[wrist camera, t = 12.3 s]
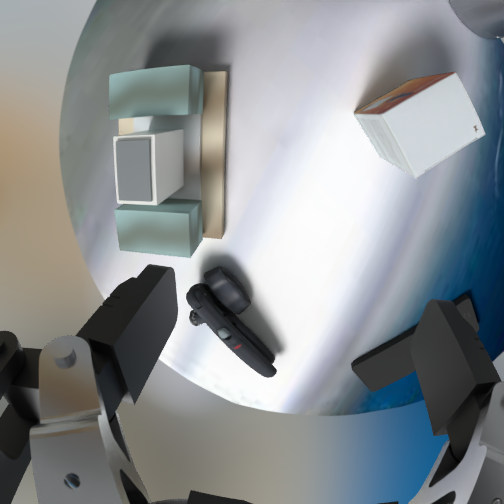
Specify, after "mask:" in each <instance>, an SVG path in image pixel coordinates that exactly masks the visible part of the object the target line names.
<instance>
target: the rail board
mask: <svg viewBox="0 0 504 504" xmlns="http://www.w3.org/2000/svg"><path fill="white" fill-rule="evenodd" d="M227 84H228V73H227V72H226V71H216V72H204V71H203V70H201V69H199V68H196V67H194V66H192V65H179V66H168V67H159V68H150V69H143V70H136V71H129V72H123V73H117V74H112V75H110V84H109V120H114V119H119V135H124V134H129V133H135V132H140V131H145V130H161V129H184V186H183V187H181V188H180V189H178V190H177V191H176V192H174V193H173V194H172V195H170V196H169V197H168V198H166V199H165V200H164V201H162V202H161V203H160V204H158V205H138V204H123V205H121V206H120V207H118V208H117V209H115V217H116V226H117V233H118V241H119V248H120V250H121V251H131V252H140V253H149V254H158V255H168V256H177V257H187V258H191V256H192V255H193V253H194V252H195V250H196V249H197V247H198V246H199V244H200V243H201V241H202V240H203V237H205V238H217V239H222V237H223V235H224V179H225V139H226V109H227Z"/></svg>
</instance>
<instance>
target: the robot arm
mask: <svg viewBox="0 0 504 504" xmlns="http://www.w3.org/2000/svg"><path fill="white" fill-rule="evenodd" d="M449 2H450V4H451V6H452V8H453V10H454V12H455V13H456V15H457V16H458V17H459V19H460V20H461V21H462V22H463V23H464V24H465V25H466V26H467V27H468V28H469V29H470V30H471V31H473V32H474V33H476V34H477V35H479V36H481V37H483V38H486V39H498V38H503V37H504V0H449ZM177 315H178V305H177V294H176V282H175V272H174V269H173V268H171V267H165V266H158V265H152V264H149V265H147V266H146V268H145V269H144V270H143V271H142V272H141V273H140V275H139V276H138V277H137V278H133V277H132V278H130V279H128V280H126V281H125V282H123V283H121V284H120V285H118V286H117V287H116V289H115V290H114V291H113V292H112V293H111V294H110V297H108V298H107V299H106V300H105V301H104V302H103V305H102V306H100V307H99V308H98V309H97V311H96V312H95V313H94V314H93V315H92V316H91V318H90V319H89V320H88V321H87V323H86V324H85V325H84V326H83V327H82V328H81V330H80V331H79V332H78V333H77V335H76V336H72V335H70V336H69V335H67V336H61V337H58V338H56V339H54V340H52V341H50V342H49V343H48V344H47V345H46V346H45V347H44V348H43V349H33V348H22V347H21V345H20V343H19V341H18V339H17V337H16V336H15V335H14V334H13V333H12V332H9V331H0V399H1V398H2V396H4V397H5V399H6V400H7V402H8V403H9V405H8V406H7V408H6V409H5V411H4V412H3V414H2V416H1V417H0V504H11V502H12V500H13V497H14V495H15V493H16V491H17V488H18V486H19V484H20V482H21V480H22V477H23V475H24V473H25V471H26V469H27V467H28V465H29V463H30V460H31V459H32V467H33V474H34V480H35V486H36V491H37V497H38V502H39V504H252V503H249V502H247V501H244V500H237V499H231V498H226V497H220V496H215V495H210V494H205V493H201V492H196V491H192V490H191V491H190V494H189V498H188V499H170V500H163V501H156V502H151V499H150V497H149V495H148V493H147V490H146V488H145V486H144V484H143V482H142V480H141V478H140V476H139V474H138V472H137V470H136V468H135V465H134V462H133V460H132V457H131V454H130V451H129V448H128V445H127V442H126V439H125V436H124V433H123V429H122V426H121V422H120V419H119V415H118V412H117V408H118V406H119V404H120V402H121V401H124V402H126V403H129V404H132V405H135V403H136V401H137V399H138V397H139V395H140V393H141V391H142V389H143V387H144V385H145V383H146V381H147V379H148V377H149V375H150V373H151V371H152V369H153V367H154V366H155V364H156V362H157V360H158V358H159V356H160V354H161V352H162V350H163V348H164V346H165V344H166V342H167V340H168V339H169V337H170V335H171V333H172V331H173V329H174V327H175V324H176V321H177ZM410 350H411V356H412V359H413V362H414V366H415V369H416V372H417V375H418V379H419V382H420V385H421V389H422V392H423V396H424V399H425V403H426V407H427V411H428V414H429V418H430V422H431V426H432V431H433V435H434V436H437V435H445V434H448V436H449V440H448V441H447V442H446V443H445V444H444V446H443V448H442V450H441V452H440V454H439V456H438V458H437V460H436V462H435V464H434V466H433V468H432V470H431V472H430V474H429V476H428V477H427V479H426V481H425V483H424V484H423V486H422V488H421V490H420V491H419V493H418V494H417V495H416V496H415V497H414V498H413V499H412V500H411V501H410V502H409V503H408V504H504V382H503V381H501V379H500V377H499V375H498V373H497V371H496V369H495V367H494V365H493V363H492V361H491V359H490V357H489V355H488V353H487V351H486V350H484V346H483V344H482V342H481V341H479V337H478V335H477V333H476V332H475V330H474V328H473V327H472V326H471V325H470V324H469V323H468V322H467V321H466V320H465V319H464V318H463V317H462V316H461V314H460V312H459V311H458V309H457V307H456V306H455V304H454V303H453V302H452V301H447V300H435V299H432V300H430V301H429V302H428V303H427V305H426V308H425V310H424V312H423V315H422V317H421V319H420V321H419V324H418V326H417V328H416V330H415V332H414V335H413V337H412V340H411V347H410ZM380 504H398V502H389V503H380Z"/></svg>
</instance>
